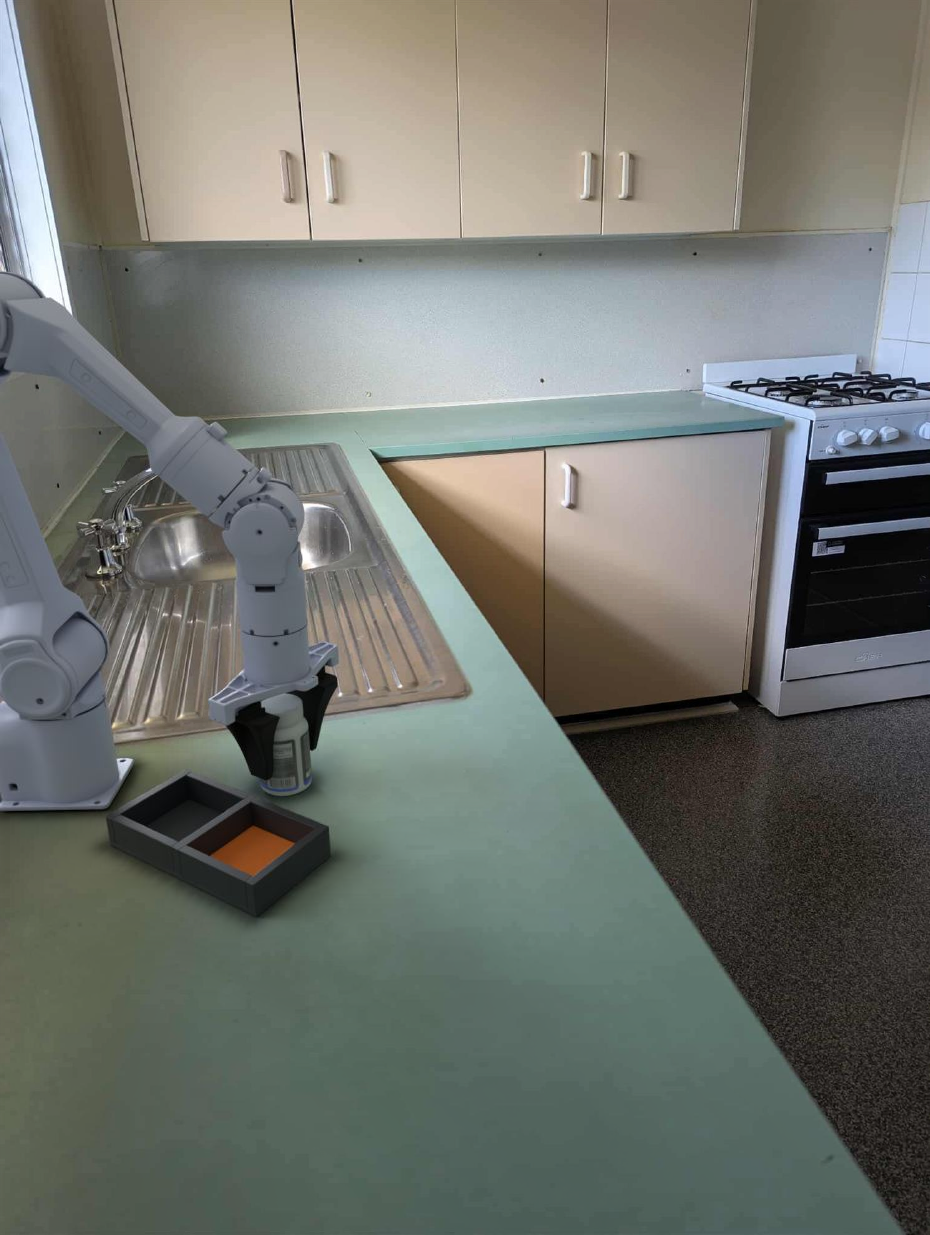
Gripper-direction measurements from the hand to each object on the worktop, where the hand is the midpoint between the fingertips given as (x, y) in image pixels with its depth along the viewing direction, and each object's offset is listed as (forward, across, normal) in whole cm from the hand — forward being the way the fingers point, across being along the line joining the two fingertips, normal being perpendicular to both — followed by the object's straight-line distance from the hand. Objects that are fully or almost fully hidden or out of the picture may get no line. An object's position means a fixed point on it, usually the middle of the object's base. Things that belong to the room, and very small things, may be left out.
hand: (284, 761), depth 80 cm
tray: (+2, -10, -2) cm, 11 cm away
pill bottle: (+3, 0, 0) cm, 3 cm away
